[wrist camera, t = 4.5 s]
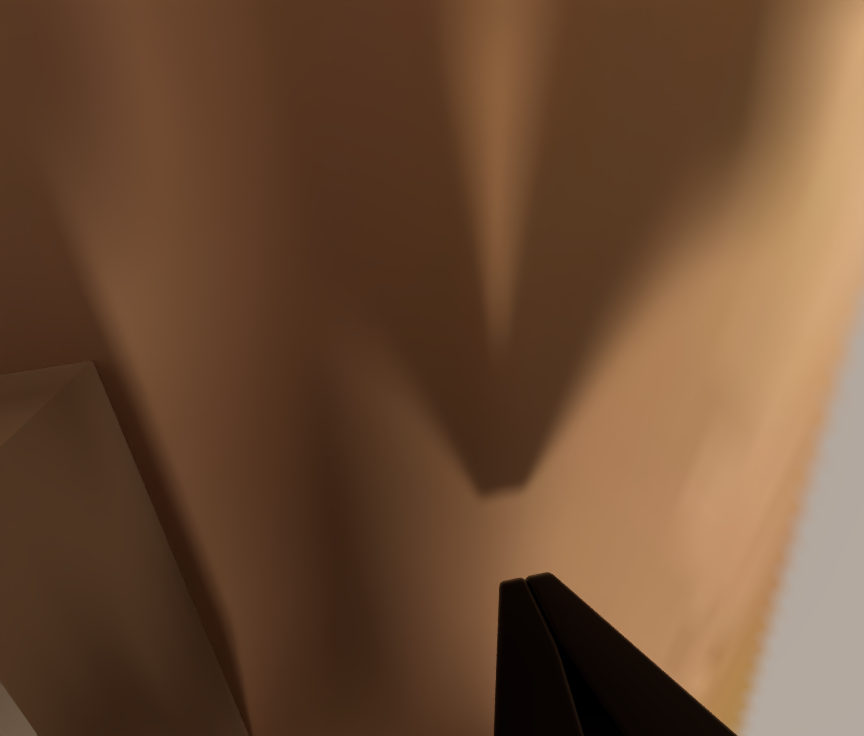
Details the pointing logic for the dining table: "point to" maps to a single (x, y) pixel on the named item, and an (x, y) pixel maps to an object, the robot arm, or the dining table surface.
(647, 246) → the dining table surface
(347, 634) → the dining table surface
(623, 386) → the dining table surface
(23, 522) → the t block
